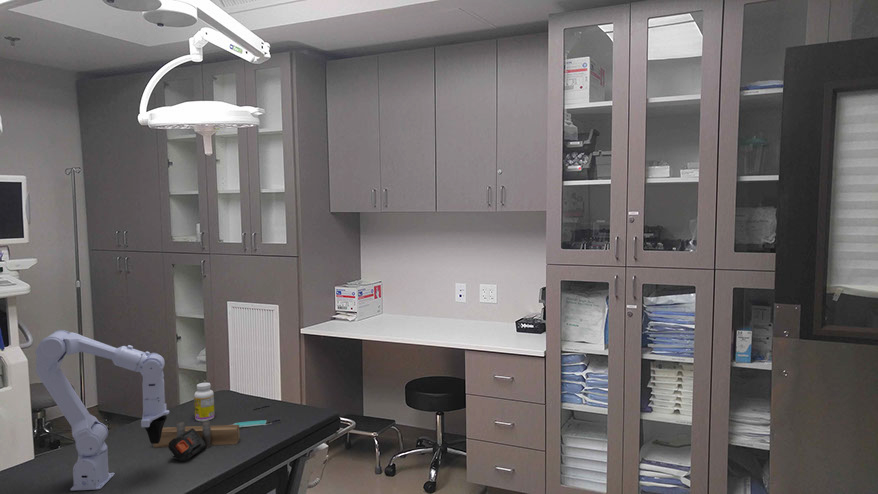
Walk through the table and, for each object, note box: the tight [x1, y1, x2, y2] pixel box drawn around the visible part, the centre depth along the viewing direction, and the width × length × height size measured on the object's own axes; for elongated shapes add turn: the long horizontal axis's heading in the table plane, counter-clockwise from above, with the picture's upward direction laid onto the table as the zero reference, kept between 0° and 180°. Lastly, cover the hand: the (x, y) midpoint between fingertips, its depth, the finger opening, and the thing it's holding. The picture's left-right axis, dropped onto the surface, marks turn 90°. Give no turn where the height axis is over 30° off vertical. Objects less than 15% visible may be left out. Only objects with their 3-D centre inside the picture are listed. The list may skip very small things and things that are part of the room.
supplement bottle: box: [193, 382, 215, 423], centre depth 222 cm, size 7×7×13 cm
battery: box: [168, 428, 206, 462], centre depth 190 cm, size 12×8×7 cm
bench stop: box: [153, 420, 241, 449], centre depth 198 cm, size 6×26×8 cm, turn 95°
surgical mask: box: [231, 405, 281, 429], centre depth 216 cm, size 21×4×10 cm
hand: (155, 442), depth 177 cm, fingers closed
